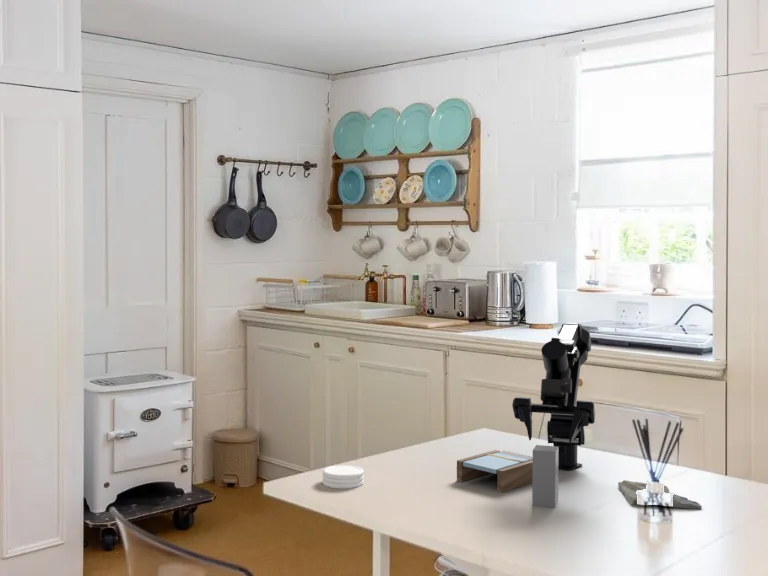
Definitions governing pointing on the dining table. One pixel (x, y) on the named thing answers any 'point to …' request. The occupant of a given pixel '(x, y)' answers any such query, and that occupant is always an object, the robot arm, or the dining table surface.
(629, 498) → the fossil rock
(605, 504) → the dining table surface
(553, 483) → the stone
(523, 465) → the hatch frame
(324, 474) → the coaster
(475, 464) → the trapdoor
